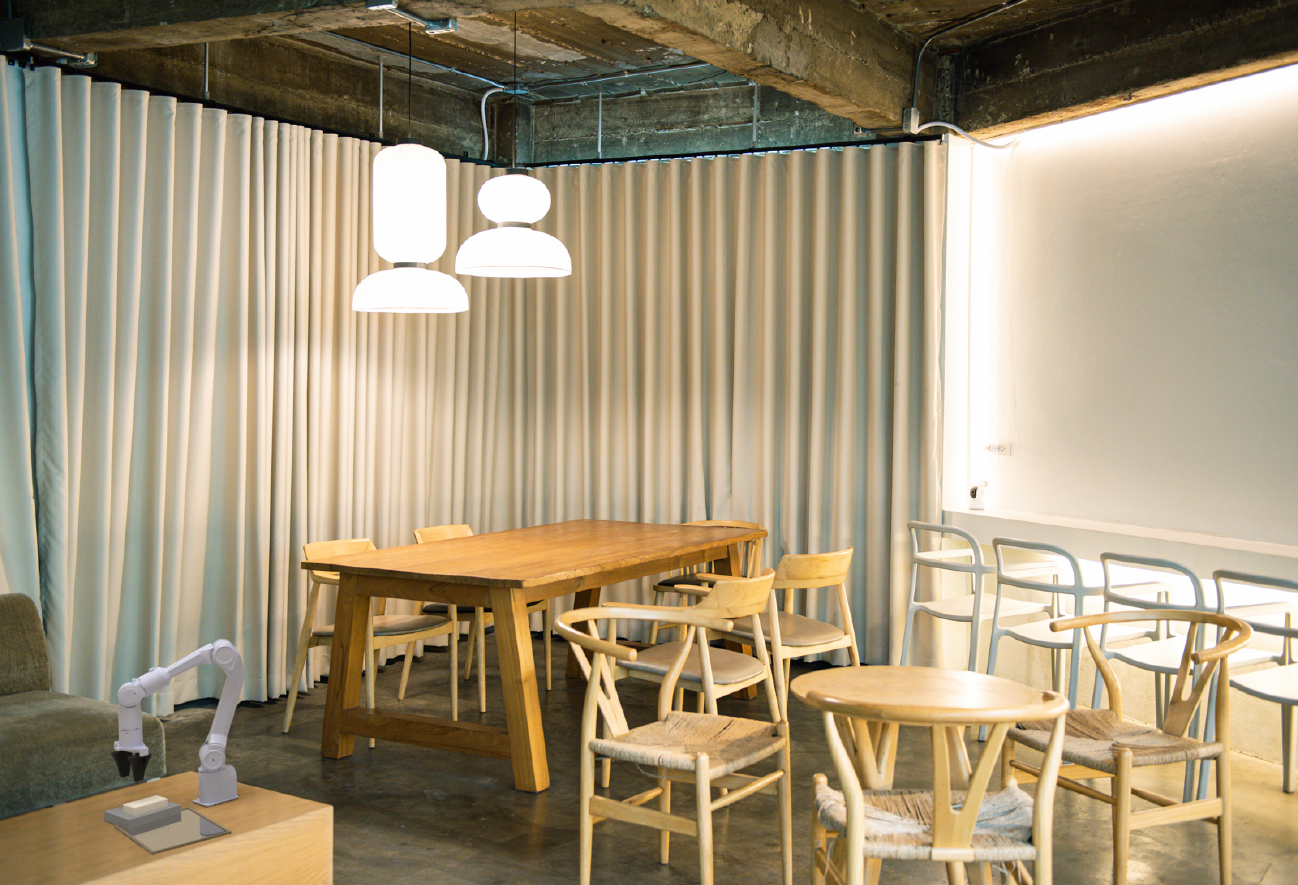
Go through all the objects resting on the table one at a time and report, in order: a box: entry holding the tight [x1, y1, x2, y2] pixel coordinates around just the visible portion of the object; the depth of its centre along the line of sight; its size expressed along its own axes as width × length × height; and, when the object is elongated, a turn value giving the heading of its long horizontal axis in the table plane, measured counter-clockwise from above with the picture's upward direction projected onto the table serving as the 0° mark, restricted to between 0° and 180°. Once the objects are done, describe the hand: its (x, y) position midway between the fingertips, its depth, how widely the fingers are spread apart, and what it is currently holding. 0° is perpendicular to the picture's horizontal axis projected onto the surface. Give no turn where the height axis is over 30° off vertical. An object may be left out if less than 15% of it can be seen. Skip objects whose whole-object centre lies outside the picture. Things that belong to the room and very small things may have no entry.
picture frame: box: [114, 806, 232, 855], centre depth 271 cm, size 19×1×28 cm
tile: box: [122, 794, 169, 816], centre depth 281 cm, size 9×6×2 cm, turn 143°
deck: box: [103, 800, 182, 829], centre depth 282 cm, size 14×13×2 cm
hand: (131, 778), depth 285 cm, fingers open, 7 cm apart
